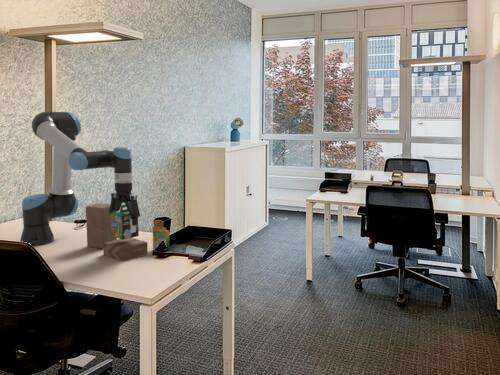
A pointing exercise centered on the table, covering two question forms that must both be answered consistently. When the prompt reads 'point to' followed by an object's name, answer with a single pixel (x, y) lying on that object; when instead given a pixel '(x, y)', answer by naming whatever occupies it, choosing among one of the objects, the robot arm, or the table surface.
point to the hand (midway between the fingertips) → (124, 230)
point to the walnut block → (125, 248)
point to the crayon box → (160, 236)
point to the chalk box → (122, 224)
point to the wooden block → (98, 225)
